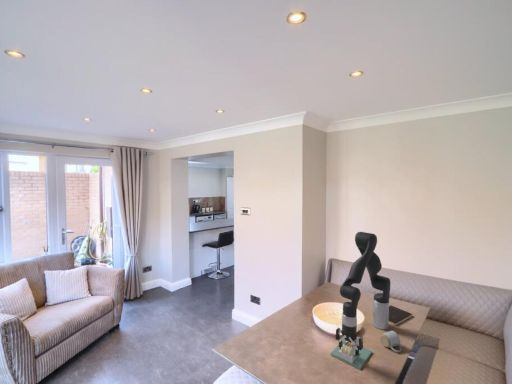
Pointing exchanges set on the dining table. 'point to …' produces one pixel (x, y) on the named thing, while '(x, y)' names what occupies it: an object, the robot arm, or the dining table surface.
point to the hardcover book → (397, 315)
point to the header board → (356, 363)
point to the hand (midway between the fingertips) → (348, 351)
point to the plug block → (349, 348)
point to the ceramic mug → (391, 340)
